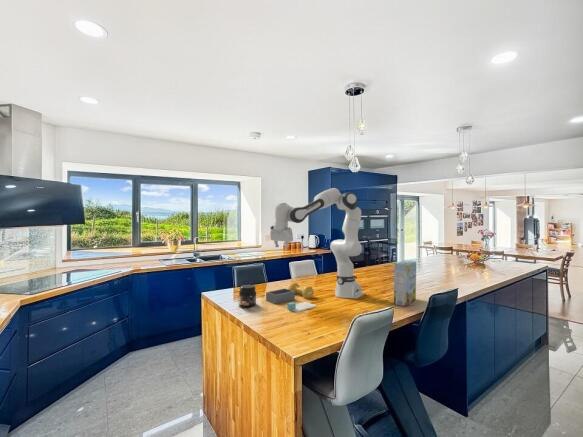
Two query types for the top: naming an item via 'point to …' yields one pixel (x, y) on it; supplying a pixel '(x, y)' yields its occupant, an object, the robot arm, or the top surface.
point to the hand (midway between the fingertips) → (281, 247)
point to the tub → (280, 296)
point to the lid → (299, 306)
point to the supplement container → (247, 296)
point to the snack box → (405, 282)
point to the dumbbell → (302, 290)
